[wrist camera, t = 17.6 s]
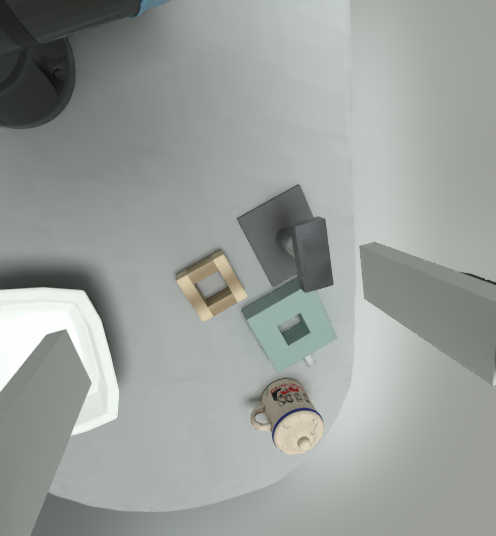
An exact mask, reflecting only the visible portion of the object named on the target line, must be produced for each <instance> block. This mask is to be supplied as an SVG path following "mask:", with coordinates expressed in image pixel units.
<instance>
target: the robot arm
mask: <svg viewBox="0 0 496 536" xmlns="http://www.w3.org/2000/svg"><path fill="white" fill-rule="evenodd" d="M168 1H170V0H0V126H2V127H7V128H14V129H25V128H32V127H37V126H40V125H43V124H45V123H47V122H49V121H51V120H52V119H54V118H55V117H56V116H57V115H59V114H60V113H61V112H62V110H63V109H64V108H65V106H66V105H67V103H68V101H69V100H70V97H71V95H72V92H73V88H74V82H75V65H74V58H73V54H72V50H71V48H70V45H69V42H68V40H67V38H66V37H67V36H70V35H73V34H76V33H79V32H82V31H85V30H88V29H91V28H94V27H97V26H100V25H104V24H107V23H110V22H113V21H116V20H119V19H122V18H125V17H128V16H129V17H130V18H137V17H139V16H140V15H141V14H143V13H144V11H146V10H149V9H151V8H154V7H157V6H159V5H162V4H164V3H166V2H168ZM360 258H361V268H362V279H363V290H364V299H366V300H367V301H368V302H370V303H371V304H373V305H374V306H376V307H377V308H379V309H380V310H382V311H383V312H385V313H386V314H387V315H389V316H391V317H392V318H393V319H395V320H397V321H398V322H399V323H401V324H402V325H404V326H405V327H407V328H408V329H410V330H411V331H412V332H414V333H416V334H417V335H418V336H420V337H422V338H423V339H424V340H426V341H427V342H429V343H430V344H432V345H433V346H435V347H436V348H438V349H439V350H440V351H442V352H444V353H445V354H447V355H448V356H449V357H451V358H452V359H454V360H455V361H457V362H458V363H460V364H461V365H463V366H464V367H466V368H467V369H468V370H470V371H471V372H473V373H474V374H476V375H477V376H479V377H480V378H482V379H483V380H485V381H486V382H488V383H489V384H490V385H492V386H494V385H496V282H493V281H490V280H485V279H484V278H481V277H478V276H475V275H473V274H469V273H462V272H457V271H455V270H452V269H449V268H446V267H444V266H440V265H438V264H435V263H432V262H429V261H426V260H424V259H421V258H418V257H415V256H412V255H410V254H407V253H404V252H401V251H398V250H396V249H393V248H390V247H387V246H385V245H382V244H379V243H376V242H372V243H369V244H365V245H361V246H360ZM91 384H92V382H91V380H90V378H89V376H88V374H87V372H86V369H85V367H84V365H83V363H82V361H81V359H80V357H79V355H78V353H77V351H76V348H75V346H74V344H73V342H72V340H71V338H70V336H69V334H68V332H67V329H64V330H60V331H57V332H53V333H49V334H46V336H45V337H44V338H43V339H42V341H41V342H40V343H39V344H38V345H37V347H36V348H35V349H34V350H33V352H32V353H31V354H30V355H29V357H28V358H27V359H26V360H25V362H24V363H23V364H22V365H21V367H20V368H19V369H18V370H17V372H16V373H15V374H14V375H13V377H12V378H11V379H10V380H9V382H8V383H7V384H6V385H5V387H4V388H3V389H2V390H1V392H0V536H30V535H31V532H32V530H33V527H34V525H35V522H36V520H37V517H38V515H39V512H40V510H41V508H42V505H43V502H44V500H45V498H46V495H47V493H48V490H49V488H50V485H51V483H52V480H53V478H54V475H55V473H56V470H57V468H58V465H59V463H60V460H61V458H62V456H63V453H64V451H65V448H66V446H67V443H68V441H69V438H70V436H71V433H72V431H73V428H74V426H75V423H76V421H77V418H78V416H79V413H80V411H81V408H82V406H83V404H84V401H85V399H86V396H87V394H88V391H89V389H90V386H91Z"/></svg>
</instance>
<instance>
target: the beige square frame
mask: <svg viewBox="0 0 496 536" xmlns="http://www.w3.org/2000/svg"><path fill="white" fill-rule="evenodd" d="M218 270H219V271H220V273H221V275H222V276H223V278H224V280H225V281H226V283H227V285H228V288H226V289H224V290H222V291H221V292H219V293H217V294H215V295H214V296H212V297H210V298H208V299H207V300H206V299H205V298H204V296H203V294H202V293H201V291H200V290H199V288H198V286H197V285H196V283H197V282H199V281H200V280H202V279H204V278H206V277H208V276H209V275H211V274H213V273H215V272H216V271H218ZM176 281H177V283H178V284H179V286H180V287H181V289H182V291H183V292H184V294H185V295H186V297H187V298H188V300H189V301H190V303H191V304H192V306H193V307H194V309H195V310H196V312H197V313H198V315H199V316H200V318H201V319H202V321H203V322H204V321H206V320H208V319H210V318H211V317H213V316H215V315H217V314H218V313H220V312H222V311H223V310H225V309H227V308H229V307H230V306H232V305H234V304H236V303H237V302H239V301H241V300H243V299H244V298H246V297H248V296H247V294H246V293H245V291H244V289H243V287H242V286H241V284H240V282H239V280H238V279H237V277H236V275H235V273H234V272H233V270H232V268H231V266H230V265H229V263H228V261H227V259H226V257H225V256H224V254H223V252H222V250H219V251H217V252H215V253H214V254H212V255H210V256H208V257H207V258H205V259H203V260H201V261H199V262H198V263H196V264H194V265H192V266H191V267H189V268H187V269H185V270H183V271H182V272H180V273H178V274H176Z"/></svg>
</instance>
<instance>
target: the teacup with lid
mask: <svg viewBox="0 0 496 536" xmlns="http://www.w3.org/2000/svg"><path fill="white" fill-rule="evenodd" d="M261 403H262V406H259V407H257V408H255V409H254V410H253V411H252V413H251V424H252V426H253V427H254V428H255V429H257V430H260V431H270V430H271V433H272V439H273V442H274V444H275V446H276V447H277V448H278V449H279V450H280V451H282V452H284V453H286V454H292V455H295V454H301V453H304V452H306V451H308V450H310V449H311V448H313V447H314V446H315V445H316V444H317V443H318V442H319V440H320V439H321V437H322V434H323V430H324V424H323V419H322V417H321V416H320V414H319V413H318V412H317V411H316V410H315V408H314V406H313V404H312V403H311V401H310V399H309V398H308V396H307V394H306V392H305V391H304V389H303V387H302V386H301V384H300V383H298V382H297V381H295V380H292V379H281V380H278V381H276V382H274V383H272V384H271V385H269V386H268V387H267V389H266V390H265V391H264V393H263V396H262V400H261ZM263 412H264V413H265V416H266V419H267V421H268V423H267V424H262V423H259V422H257V421H256V420H255V416H256V415H257V414H259V413H263Z"/></svg>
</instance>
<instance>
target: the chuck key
mask: <svg viewBox="0 0 496 536" xmlns="http://www.w3.org/2000/svg"><path fill="white" fill-rule="evenodd" d="M289 226H290V229H287V228H285V229H282V230H280V231H279V232H278V234H277V236H276V242H277V244H278V245H279V246H280V247H281V248H282V249H284V250H285V251H286V252H288V253H289V254H290V255H292V256H293V257H294V258H295V262H296V268H297V274H298V280H299V286H300V288H301V289H302V290H303V291H304V292H305V293H308V292H311V291H315V290H318V289H321V288H325V287H328V286H331V285H333V277H332V269H331V261H330V253H329V245H328V237H327V229H326V221H325V219H324V218H321V217H315V218H311V219H307V220H303V221H299V222H296V223H292V224H289Z"/></svg>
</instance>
